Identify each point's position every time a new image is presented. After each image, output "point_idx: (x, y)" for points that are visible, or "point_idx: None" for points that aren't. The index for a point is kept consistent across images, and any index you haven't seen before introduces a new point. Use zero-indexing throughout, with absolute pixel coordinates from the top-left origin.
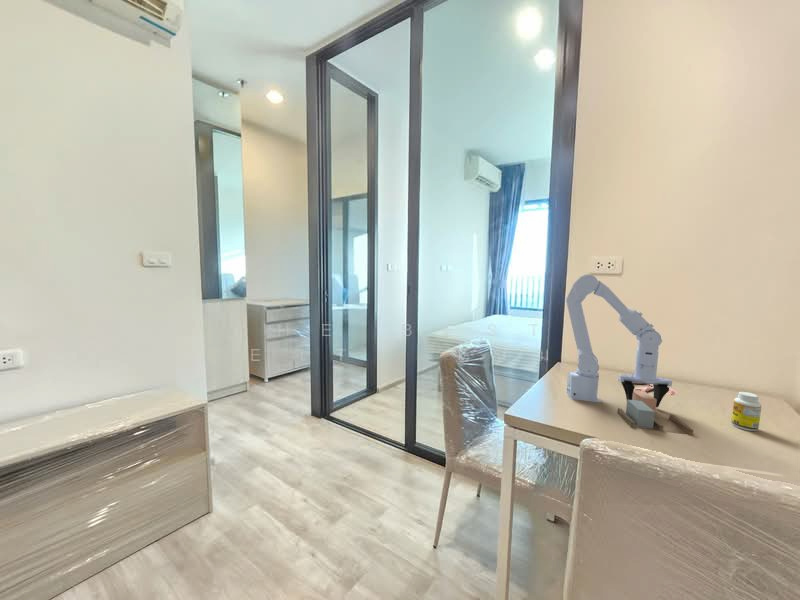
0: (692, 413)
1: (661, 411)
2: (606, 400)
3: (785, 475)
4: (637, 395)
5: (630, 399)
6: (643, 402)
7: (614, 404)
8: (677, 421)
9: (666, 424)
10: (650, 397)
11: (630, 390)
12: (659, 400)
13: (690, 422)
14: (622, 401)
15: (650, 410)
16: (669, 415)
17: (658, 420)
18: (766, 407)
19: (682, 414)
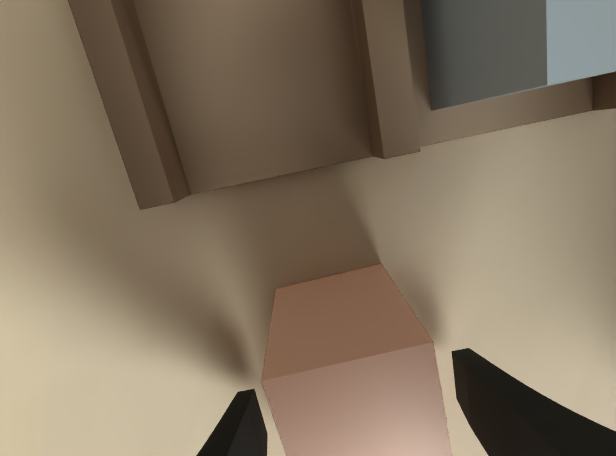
0: (11, 451)
1: (216, 380)
2: (580, 407)
3: None
4: (446, 442)
5: (496, 370)
6: (544, 17)
7: (545, 350)
8: (125, 34)
9: (237, 18)
10: (319, 425)
11: (612, 453)
12: (218, 441)
13: (38, 248)
14: (458, 445)
15: None
16: (177, 198)
17: (288, 100)
18: None
19: (78, 395)
